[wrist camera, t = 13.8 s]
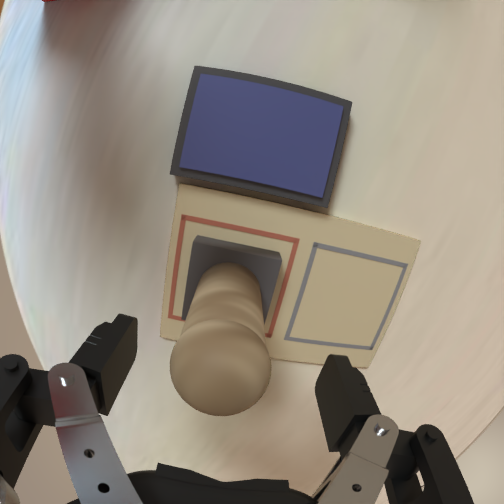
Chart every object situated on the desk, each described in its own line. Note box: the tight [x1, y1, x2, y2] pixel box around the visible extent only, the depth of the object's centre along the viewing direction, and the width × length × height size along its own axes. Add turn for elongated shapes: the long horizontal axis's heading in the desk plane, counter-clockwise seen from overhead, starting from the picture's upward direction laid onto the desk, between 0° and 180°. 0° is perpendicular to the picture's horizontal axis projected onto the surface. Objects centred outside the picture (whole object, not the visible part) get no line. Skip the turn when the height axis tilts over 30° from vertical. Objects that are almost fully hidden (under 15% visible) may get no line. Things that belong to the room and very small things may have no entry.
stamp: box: [170, 235, 282, 416], centre depth 14 cm, size 5×5×10 cm
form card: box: [160, 183, 421, 368], centre depth 19 cm, size 16×11×1 cm, turn 77°
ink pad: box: [170, 66, 352, 208], centre depth 15 cm, size 9×6×1 cm
